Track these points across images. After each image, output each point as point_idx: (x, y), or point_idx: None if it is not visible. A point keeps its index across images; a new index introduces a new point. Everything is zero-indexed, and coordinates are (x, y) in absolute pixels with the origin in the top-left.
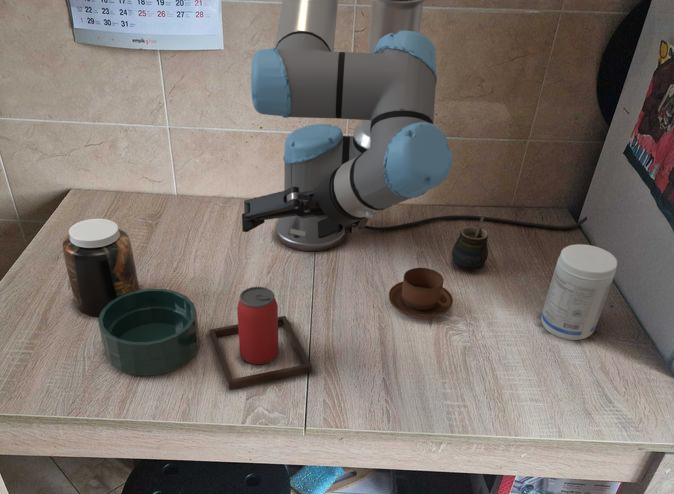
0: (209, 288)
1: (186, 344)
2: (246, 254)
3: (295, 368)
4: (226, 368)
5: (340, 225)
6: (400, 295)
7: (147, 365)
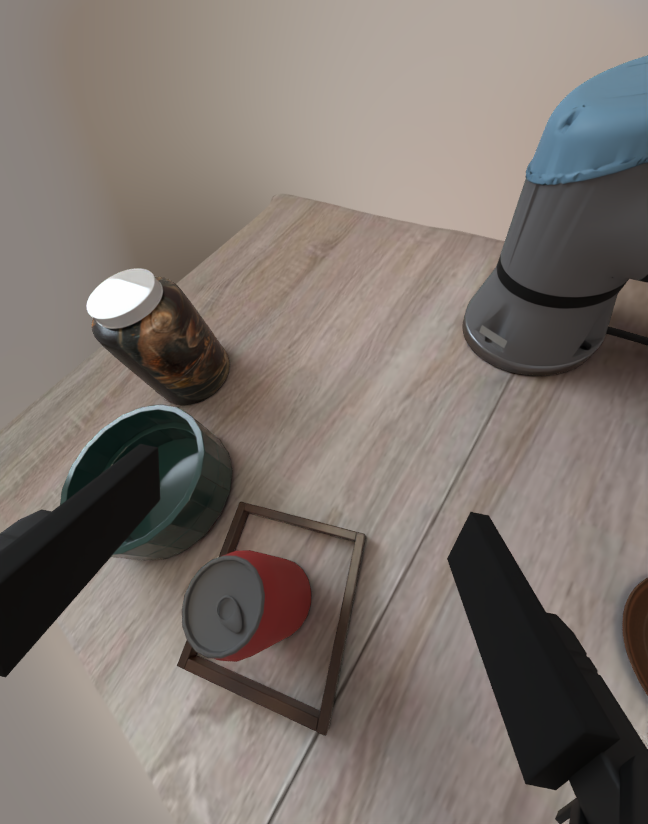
0: (307, 397)
1: (159, 549)
2: (397, 344)
3: (293, 717)
4: None
5: (551, 773)
6: None
7: None
